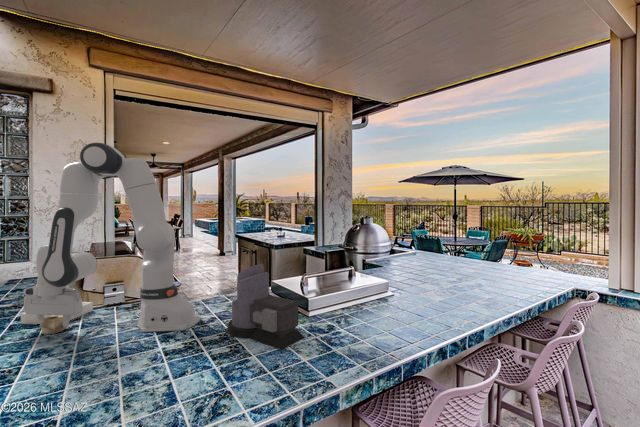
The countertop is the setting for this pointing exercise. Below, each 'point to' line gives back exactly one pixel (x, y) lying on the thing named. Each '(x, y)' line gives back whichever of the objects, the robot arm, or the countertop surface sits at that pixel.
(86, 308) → the tray
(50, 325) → the block
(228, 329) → the juicer
